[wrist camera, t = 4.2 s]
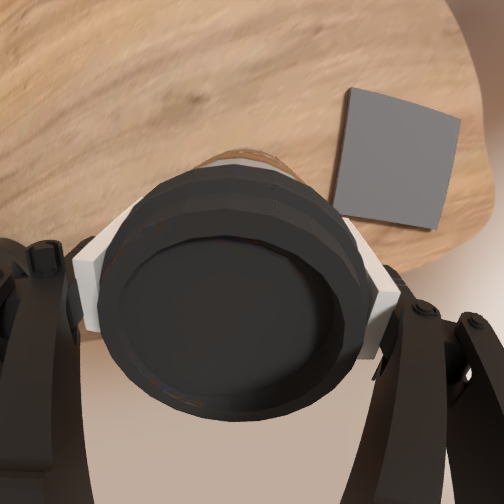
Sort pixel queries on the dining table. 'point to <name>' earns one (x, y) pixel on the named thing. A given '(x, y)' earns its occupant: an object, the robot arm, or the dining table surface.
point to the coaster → (394, 160)
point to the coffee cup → (234, 291)
